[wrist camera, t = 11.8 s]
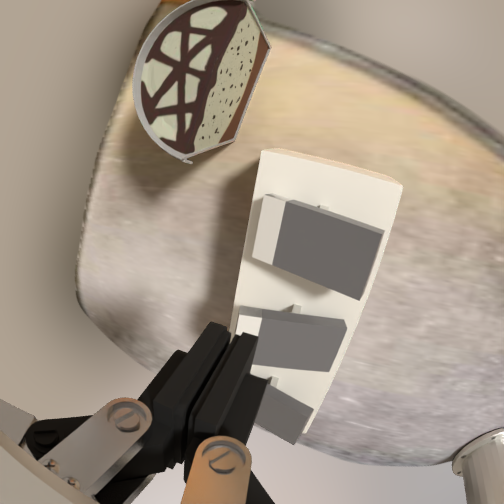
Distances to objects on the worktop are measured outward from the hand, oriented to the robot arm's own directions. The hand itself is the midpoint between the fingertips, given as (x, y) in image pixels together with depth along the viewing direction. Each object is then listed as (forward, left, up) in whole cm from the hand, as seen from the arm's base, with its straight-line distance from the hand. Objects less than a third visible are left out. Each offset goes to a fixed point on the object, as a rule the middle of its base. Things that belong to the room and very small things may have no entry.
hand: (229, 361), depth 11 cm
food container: (+9, -11, -20) cm, 24 cm away
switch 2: (-2, +7, -12) cm, 14 cm away
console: (-2, +7, -20) cm, 21 cm away
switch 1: (-2, -1, -12) cm, 12 cm away
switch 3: (-2, +15, -12) cm, 19 cm away
